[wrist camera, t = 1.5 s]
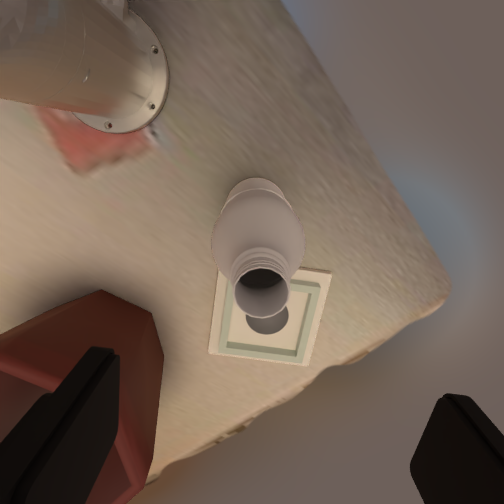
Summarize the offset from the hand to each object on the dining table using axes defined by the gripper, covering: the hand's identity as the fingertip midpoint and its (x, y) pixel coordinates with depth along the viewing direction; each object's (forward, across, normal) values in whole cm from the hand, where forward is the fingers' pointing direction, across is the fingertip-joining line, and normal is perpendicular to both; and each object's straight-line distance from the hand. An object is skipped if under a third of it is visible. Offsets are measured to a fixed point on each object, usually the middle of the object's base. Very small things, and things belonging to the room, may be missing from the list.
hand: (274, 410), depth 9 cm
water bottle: (+32, 0, 0) cm, 33 cm away
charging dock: (+32, -4, +15) cm, 36 cm away
